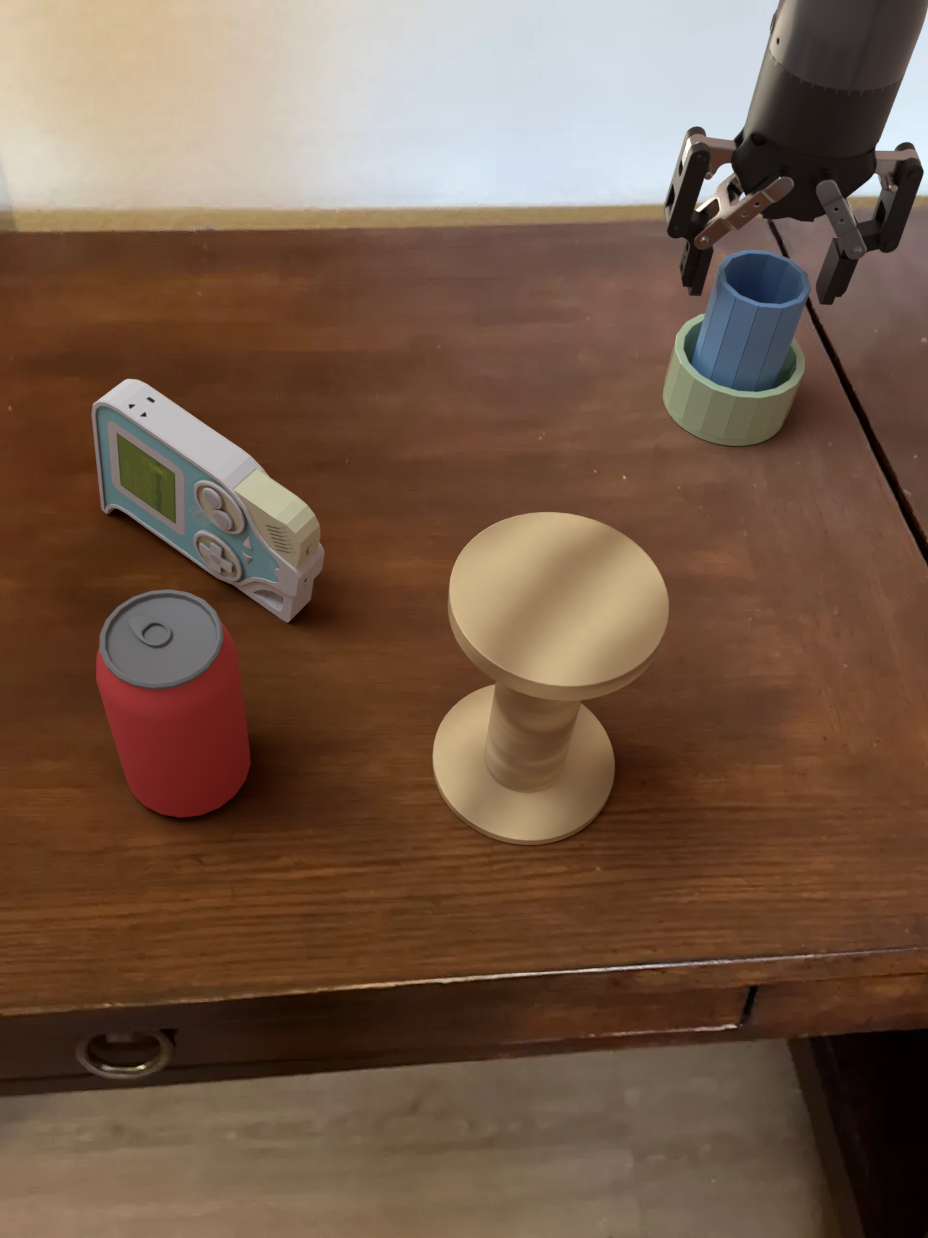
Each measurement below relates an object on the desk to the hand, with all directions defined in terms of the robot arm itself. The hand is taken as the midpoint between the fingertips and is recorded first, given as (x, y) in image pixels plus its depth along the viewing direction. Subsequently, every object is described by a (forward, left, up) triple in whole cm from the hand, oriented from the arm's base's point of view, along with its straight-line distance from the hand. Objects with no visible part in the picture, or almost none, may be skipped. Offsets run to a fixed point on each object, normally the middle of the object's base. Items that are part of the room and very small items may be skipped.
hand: (758, 292), depth 78 cm
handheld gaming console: (+21, +31, -10) cm, 39 cm away
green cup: (0, 0, -9) cm, 9 cm away
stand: (-2, +34, -9) cm, 35 cm away
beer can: (+13, +44, -10) cm, 46 cm away
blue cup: (0, 0, -9) cm, 9 cm away
